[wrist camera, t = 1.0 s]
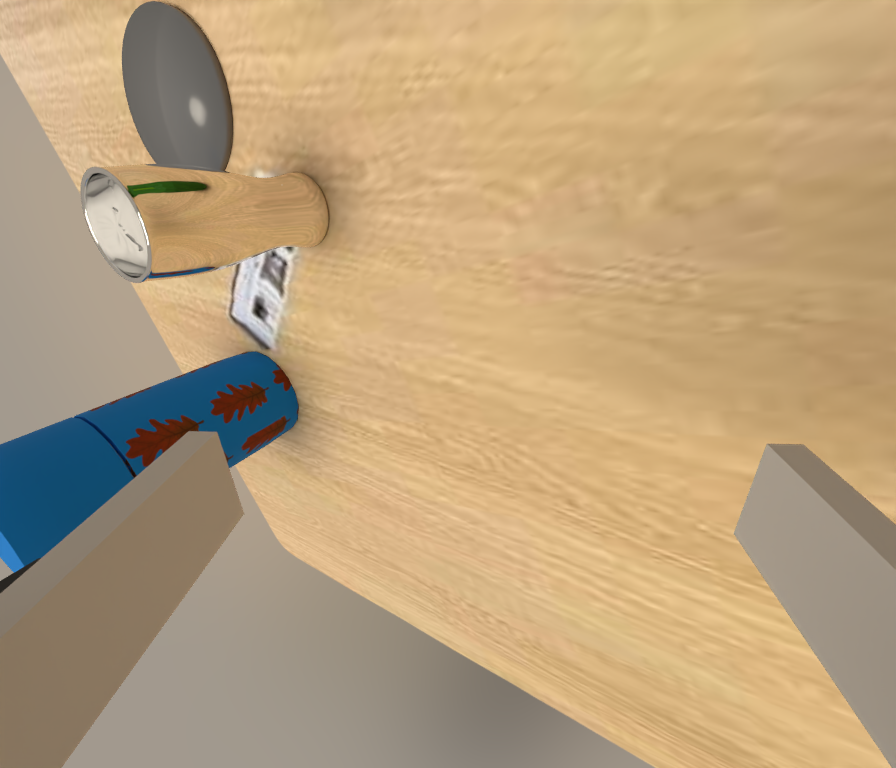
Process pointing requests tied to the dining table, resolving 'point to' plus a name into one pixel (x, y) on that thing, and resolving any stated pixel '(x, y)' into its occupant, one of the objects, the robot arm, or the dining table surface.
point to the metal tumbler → (196, 217)
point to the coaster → (176, 88)
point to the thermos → (132, 446)
